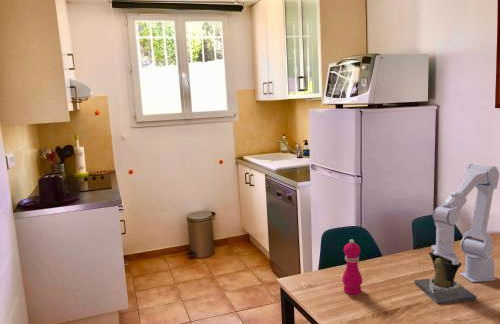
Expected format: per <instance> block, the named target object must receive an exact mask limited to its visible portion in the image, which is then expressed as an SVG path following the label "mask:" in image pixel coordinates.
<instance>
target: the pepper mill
mask: <svg viewBox="0 0 500 324" xmlns="http://www.w3.org/2000/svg"><path fill="white" fill-rule="evenodd" d="M343 254H344V255H345V256H344V261H346V262H345V263H346V266H345V267H346V268H345V270H344V272H343V275H342V280H341V281H342V283H343V292H344V293H345V294H348V295H351V296H352V295H353V296H355V295H356V296H357V295H359V294H361V293H362V287H361V285H362V284H363V277H362V274H361V271H360V269H359V267H358V266H359V264H358V262H359V261H360V254H361V248H360V245H359V244H357V243H356V242H355V240H354V239H352V238H351V239H349V242H348V243H347V244H345V245H344V246H343Z"/></svg>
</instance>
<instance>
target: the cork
mask: <svg viewBox="0 0 500 324" xmlns="http://www.w3.org/2000/svg"><path fill="white" fill-rule="evenodd" d="M447 261H449V260H448V259H446V258H437V259H436V260H435V266H436V271H435V270H434V276H433V277H434V284H435V285H437V286H440V287H446V288H449V287H451V283H450V281H447V279H446V270H445V267H444V264H443V262H447Z"/></svg>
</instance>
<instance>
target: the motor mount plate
mask: <svg viewBox="0 0 500 324" xmlns="http://www.w3.org/2000/svg"><path fill="white" fill-rule="evenodd" d="M434 277H435V276H433V277H431V278H423V279H414V285H415V286H416V287H418V288H419V289H420V290H421V291H422V292H424V294H425V295H427V296H428V297H429V298H430V299H431V300H432V301H434V302H435V303H436V305H441V304H451V303H463V302H474V301H477V296H476V295H475V294H474V293H472V292H471V291H469V289H467V288H465V287H464V286H462V284H460V282H458V281H457V280H455V279H454V281H450V283H451V287H449V288H446V287H440V286H437V285H435V284H434Z"/></svg>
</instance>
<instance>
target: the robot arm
mask: <svg viewBox="0 0 500 324" xmlns="http://www.w3.org/2000/svg"><path fill="white" fill-rule="evenodd" d="M499 178H500V172H499V169H498V168H497V166H493V165H492V166H490V165H481V164H474V163H469V164H468V165H467V166H466V167H465V169H464V178H463V180H462V182H461V183H460V185H459V187H458V188H457V190H456V191H452V192H451V193H450V194H449V195H448V197H447V198H446V199H445V201H444V202H443V203H442V204H441V205H439V206H437V207H435V209H434V210H433V214H432V218H433V221H434V226H435V227H436V228H435V229H436V231H435V233H436V235H435V237H436V238H435V244H432V245H431V251H432V252H429V253H428V254H429V256H430V258H431V261H432V263H433V268H434V272H435V271H436V266H435V260H436V259H437V258H446V259H448V260H449V261H447V262H443V264H444V267H445V270H446V279H447V281H454V280H455V277H456V274H457V272H458V270H459V268H460V267H461V266H462V263H461V262H460V258H458V256H457V255H456V253H455V252H454V251H455V249H454V247H455V224H456V223H457V222H458V220H459V216H460V211H461V210H462V208H463V207H464V206H465V205H466V203H467V197H468V195H469V194H470V193H471V192H472V191H473V190H474V189H475V188H476V189H477V193H476V199H475V204H474V211H473V216H472V222H471V223H472V224H471V228H470V230H468V231H465V232H463V236H462V239H461V240H460V249H461V251H462V252H463V255H465V263H464V266H465V267H464V268H465V269H464V272H460V273H459V274H460V275H461V276H463V277H464V278H465V279H466V280H468V281H469V282H471V283H479V282H481V283H482V282H493V281H496V278H495V265H496V264H495V261H494V258H493V257H492V254H493V252H494V245H493V244H494V239H493V238H492V237H491V236H490V234H488V232H487V229H488V223H489V218H490V212H491V211H490V210H491V206H492V200H493V196H494V195H493V194H494V190H495V189H497V187H498V183H499Z"/></svg>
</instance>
